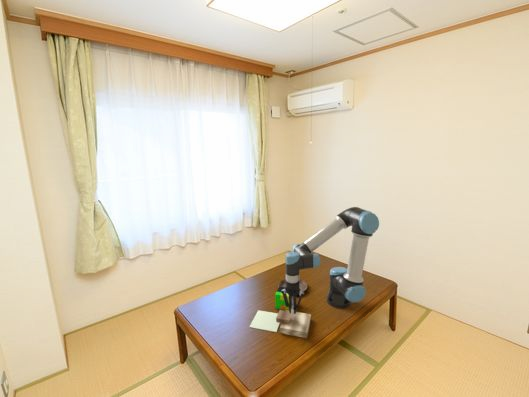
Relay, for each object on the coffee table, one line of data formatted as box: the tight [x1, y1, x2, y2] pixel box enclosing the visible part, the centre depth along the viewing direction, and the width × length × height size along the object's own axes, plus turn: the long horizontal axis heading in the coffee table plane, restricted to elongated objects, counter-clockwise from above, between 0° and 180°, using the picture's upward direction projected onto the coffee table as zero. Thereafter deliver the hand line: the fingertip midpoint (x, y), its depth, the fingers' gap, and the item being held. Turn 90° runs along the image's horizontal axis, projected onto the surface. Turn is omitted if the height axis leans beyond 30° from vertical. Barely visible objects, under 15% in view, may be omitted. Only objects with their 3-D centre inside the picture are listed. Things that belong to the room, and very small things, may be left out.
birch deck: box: [279, 310, 312, 339], centre depth 152 cm, size 15×16×4 cm
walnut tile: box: [276, 309, 292, 324], centre depth 153 cm, size 8×8×2 cm
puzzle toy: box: [274, 286, 294, 311], centre depth 171 cm, size 10×10×10 cm
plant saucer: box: [278, 278, 308, 296], centre depth 191 cm, size 21×21×3 cm
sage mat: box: [249, 309, 281, 333], centre depth 157 cm, size 16×16×1 cm
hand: (292, 317), depth 152 cm, fingers closed
